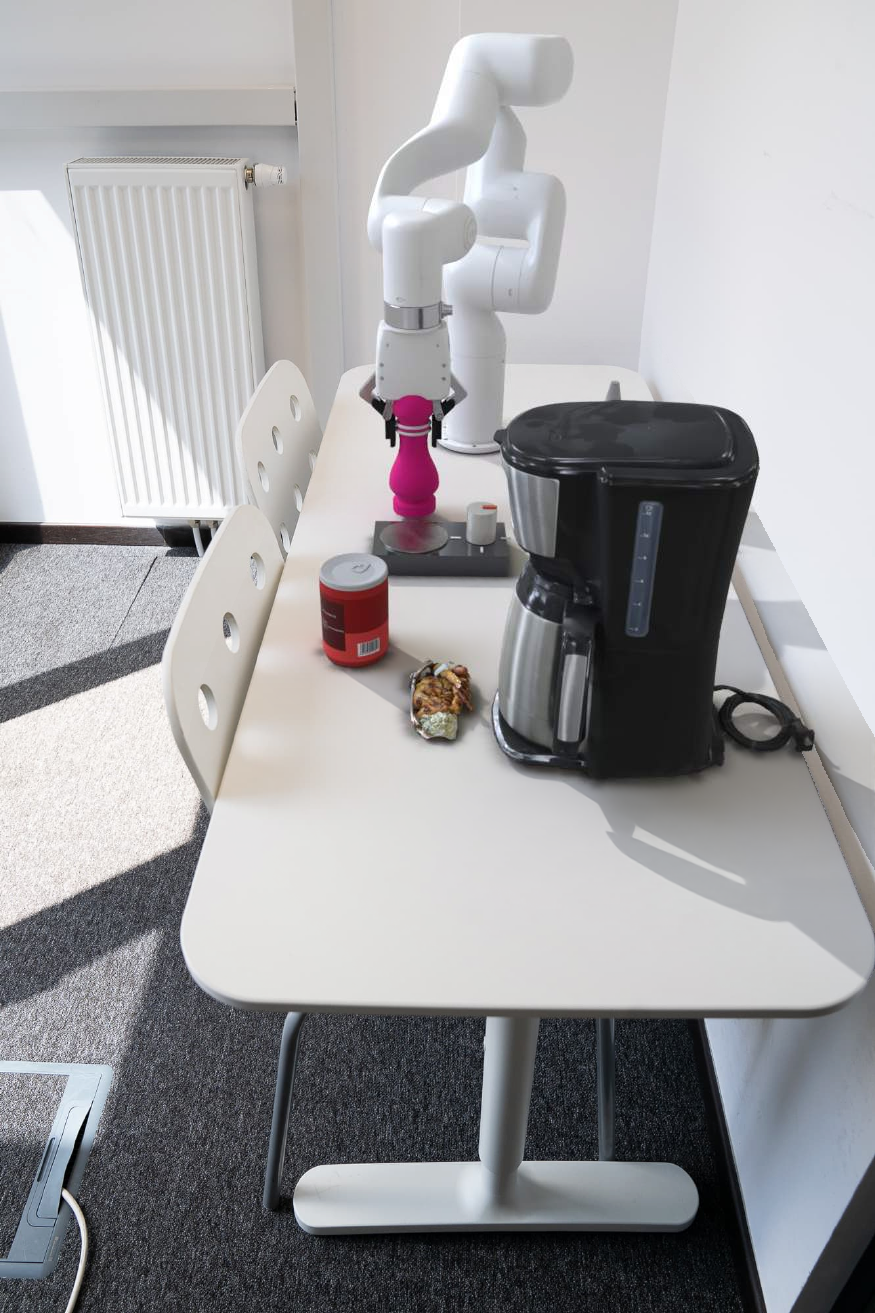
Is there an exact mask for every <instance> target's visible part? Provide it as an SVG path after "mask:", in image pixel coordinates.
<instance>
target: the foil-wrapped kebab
mask: <svg viewBox="0 0 875 1313" xmlns="http://www.w3.org/2000/svg"><path fill="white" fill-rule="evenodd" d="M449 664H452V665H454V664H455V663H454V662H452V661H449ZM449 664H448V663H446V662H444V663H440V662H434V661H433V660H431V659H429V658H428V657H427V658H426V659H424V660H423V664H421V665H419V668H418V669H417V671H414V672H412V673H410V675H409V680H410V682H408V683H409V684H408V688H410V693H409V696H410V710H409V715H410V721H411V722H412V727H413V729H414V730H415V732H416V733H419V734H420V735H421V737H422V738H425V739H427V740H428V739H431V738H435V737H443V738H446V739H449V740H456V737H457V730H458V726H459V725H458V719H457V718H458V716H457V715H459V714H461V713H462V711H463V707H464V704H465V706H466V707H467V708H468V709H469V711H470V712H473V710H474V707H473V705H472V702H473V695H472V692H471V689H470V680H472V677H471V674H470V673H469V669H468V667H466V666H463V665H462V664H457V665H455V666H454V667H451V666H450V665H449ZM426 669H429V671H426V672H425V670H426ZM423 672H425V674H424V675H423V676H421V675H422V673H423Z"/></svg>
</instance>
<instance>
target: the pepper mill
mask: <svg viewBox="0 0 875 1313" xmlns="http://www.w3.org/2000/svg"><path fill="white" fill-rule="evenodd" d="M393 402H394V403H393V413H394V415H395V416H396V421H395V424H396V428H395V429H396V434H398V439H399V447H398V451H397V454H396V458H395V459H394V462H393V464H392V466H391V469H390V472H389V479H388V485H389V486H388V487H389V488H390V490H391V492H392V493H393V494H394V495H393V497H392V510H393V512H394V513H395V514H396V515H398V516H400V517H402V518H407V519H421V518H426V517H429V516H430V515H432V514H434V513H435V512H436V510H437V498H436V496H435V495H434V494H435V493H436V492H437V491H438V489H439V487H440V476H439V472H438V469H437V467H436V464H435V462H434V460H433V459H432V456H431V454H430V450H429V443H428V442H429V440H428V438H429V433H431V432H432V419H431V418H430V417H432V414H433V412H434V411H433V403H432V401H430V400H427V399H425V398H424V397H422V396H418V395H407V396H404V397H402V398H400V399H399V400H394V401H393Z"/></svg>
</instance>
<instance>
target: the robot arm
mask: <svg viewBox="0 0 875 1313" xmlns="http://www.w3.org/2000/svg"><path fill="white" fill-rule="evenodd" d="M574 60H575V58H574V53H573V48H572V46H571V44H570V42H569V41H568V39H567V38H566V37H564V36H563V35H560V34H543V33H542V34H541V33H538V34H537V33H516V32H480V33H473V34H468V35H466V36H464V37H462V38H461V39H459V41H457V42H456V44H455V45H454V46H453V48H452V50H451V51H450V55H449V57H448V61H447V65H446V68H445V70H444V74H443V78H442V81H441V84H440V88H439V91H438V95H437V97H436V101H435V105H434V108H433V110H432V115H431V118H430V121H429V124H428V125H427V126H425V127H424V128H422V129H421V130H419V131H418V132H417V133H415V134H414V135H413V136H411V137H410V138H409V139H407V141H405V142H404V143H403V144H402V145H401V146H400V147H399V148H398V149H397V150H396V151H395V152H394V153H393V154H392V155H391V156H390V157H389V158H388V160H387V161H386V162H385V164H384V166H383V167H382V168H381V171H380V173H379V175H378V178H377V182H376V185H375V188H374V192H373V195H372V198H371V202H370V206H369V210H368V215H367V222H366V223H367V226H366V227H367V230H366V231H367V237H368V241H369V243H370V246H372V248H373V249H374V250H375V251H376V252H377V253H379V254H382V278H383V279H382V280H383V282H382V284H383V319H381V320H380V321H379V322H378V327H377V333H376V334H377V335H376V346H375V370H374V371H373V373H372V374H371V375H370V376H369V378H367V380H366V381H365V382H364V384H363V385H362V386H361V387H360V388H359V392H358V396H359V397H360V398H361V399H362V400H364V401H365V402H366V403H368V404H369V405H370V406H371V407H372V408H373V409H374V410H375V411H376V412H377V413H378V414H379V415H380V416H382V419H383V420H384V437H385V440H389V445H390V446H389V447H390V448H395V447H396V444H397V431H396V429H395V428H396V424H395V421H396V420H397V417H396V416H395V415H394V413H393V403H394V402H393V401H394V400H399V399H400V398H402V397H404V396H407V395H418V396H422V397H424V398H425V399H427V400H430V401H432V403H433V411H434V412H433V414H432V415H431V447H432V448H433V449H437V448H438V443H439V444H440V446H442V447H444V448H446V449H448V450H451V451H454V452H459V453H465V454H488V453H493V452H497V451H500V448H501V446H500V445H499V444H498V443H497V442H496V441H494V440H493V437H494V434H495V432H496V431H497V430H501V429H506V428H507V427H505V426H503V414H504V399H505V398H504V397H505V377H506V362H507V360H506V359H507V344H508V343H507V334H506V330H505V328H504V325H503V323H502V321H501V319H500V318H499V316H498V315H497V313H498V312H499V313H500V312H501V313H509V314H519V315H532V316H533V315H535V316H536V315H541V314H543V313H545V312H546V311H547V310H548V309H549V307H550V306H551V303H552V300H553V298H554V293H555V288H556V283H557V278H558V277H557V275H558V270H559V263H560V256H561V251H562V243H563V236H564V230H565V225H566V224H565V223H566V214H567V195H566V194H567V193H566V188H565V186H564V183H563V182H562V180H560V178H558V176H556V175H553V174H550V173H543V172H530V171H524V166H525V158H526V152H527V146H528V145H527V144H528V139H527V134H526V131H525V129H524V127H523V125H522V122H521V121H520V119H519V117H518V116H517V115H516V113H515V111H514V110H513V109H512V107H529V108H532V107H533V108H544V107H548V106H551V105H555V104H557V103H559V102H560V101H561V100H563V99H564V98H565V96H566V94H567V93H568V91H569V89H570V87H571V83H572V81H573V76H574V70H575V62H574ZM464 168H467V170H466V177H465V183H464V184H465V185H464V191H463V197H462V198H463V199H462V200H463V201H459V200H455V199H447V198H446V199H445V198H434V197H425V196H424V197H423V196H412V195H410V194H411V193H412V192H414V190H416V189H417V188H418V187H420V186H421V185H424V184H425V183H427V182H429V181H431V180H434V179H436V178H439V177H441V176H445V175H448V174H451V173H454V172H457V171H459V170H461V169H464ZM477 235H478V236H481V237H488V238H498V239H509V240H521V241H527V242H528V243H529V248H528V247H527V248H526V247H525V248H524V247H516V246H515V247H514V246H505V245H497V244H486V243H476V240H477ZM442 286H443V287H442ZM442 288H443V289H442ZM442 290H444V296H445V302H446V303H445V302H444V301H442V300H443V299H442V298H443V296H442V295H443V294H442V292H443V291H442ZM496 312H497V313H496ZM445 317H447V321H446V320H445V319H444V318H445ZM374 390H375V391H376V394H375V393H374V392H373V391H374ZM384 400H385V401H384ZM442 400H443V401H442ZM444 418H445V424H443V420H444ZM437 442H438V443H437Z"/></svg>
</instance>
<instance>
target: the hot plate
mask: <svg viewBox="0 0 875 1313" xmlns="http://www.w3.org/2000/svg"><path fill="white" fill-rule="evenodd" d="M403 521H404V520H375V521H374V528H373V541H372V548H371V555H374V556H377V557H379V558H381V559H382V560H383V561H384V562H385V563H386V565H387V569H388V576H431V577H432V576H433V577H434V576H435V577H438V576H440V577H442V576H443V577H444V576H445V577H508V576H509V561H510V560H509V559H510V555H509V548H508V546H509V545H508V541H511V540H512V537H510V536H507V531H506V525H505V522H502V521H499V522H498V521H496V539H495V541H494V542H493V543H491V544H487V545H476V544H472V543H470V542H468V541H467V539H466V525H467V521H429V522H430V523H433V524H436V525H439V526H440V527H442V528H444V529H445V530H446V532H447V533H448V542H447V543H446V545H444V546H443V547H442V548H440V549H438V550H436V551H433V552H429V553H423V554H407V553H400V552H396V551H393V550H391V549H389V548H387V547H386V546H384V545H383V544H382V542H381V540H380V535H381V532H382V531H383V530H384V529H385V528H386V527H388V526H390V525H392V524H394V523H398V522H403ZM424 521H425V522H427V521H426V520H424Z"/></svg>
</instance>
